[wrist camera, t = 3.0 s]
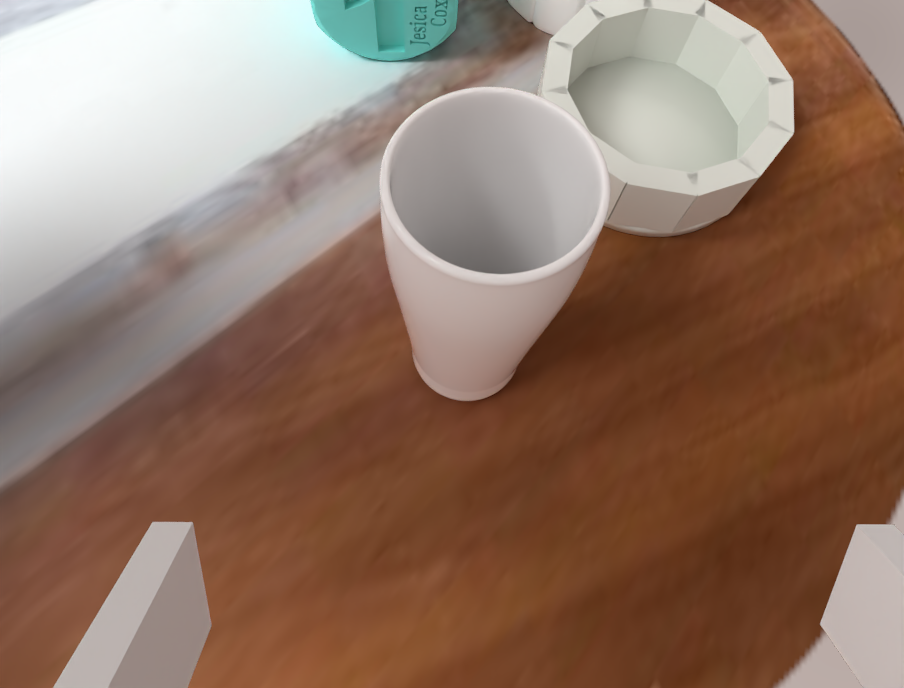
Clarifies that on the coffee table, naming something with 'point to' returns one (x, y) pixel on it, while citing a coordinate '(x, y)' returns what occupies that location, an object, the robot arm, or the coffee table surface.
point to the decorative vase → (548, 12)
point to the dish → (671, 107)
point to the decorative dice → (387, 25)
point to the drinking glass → (487, 229)
